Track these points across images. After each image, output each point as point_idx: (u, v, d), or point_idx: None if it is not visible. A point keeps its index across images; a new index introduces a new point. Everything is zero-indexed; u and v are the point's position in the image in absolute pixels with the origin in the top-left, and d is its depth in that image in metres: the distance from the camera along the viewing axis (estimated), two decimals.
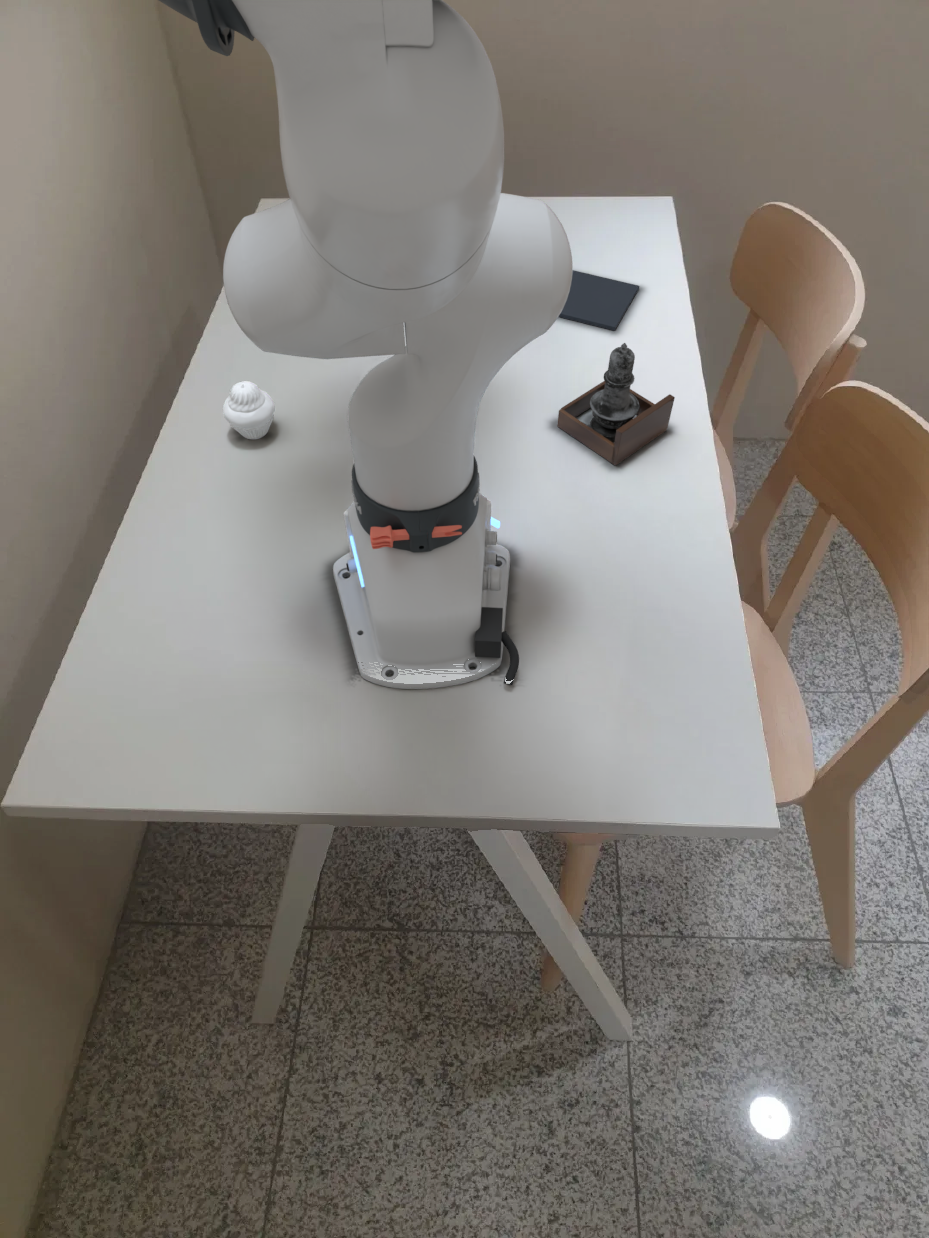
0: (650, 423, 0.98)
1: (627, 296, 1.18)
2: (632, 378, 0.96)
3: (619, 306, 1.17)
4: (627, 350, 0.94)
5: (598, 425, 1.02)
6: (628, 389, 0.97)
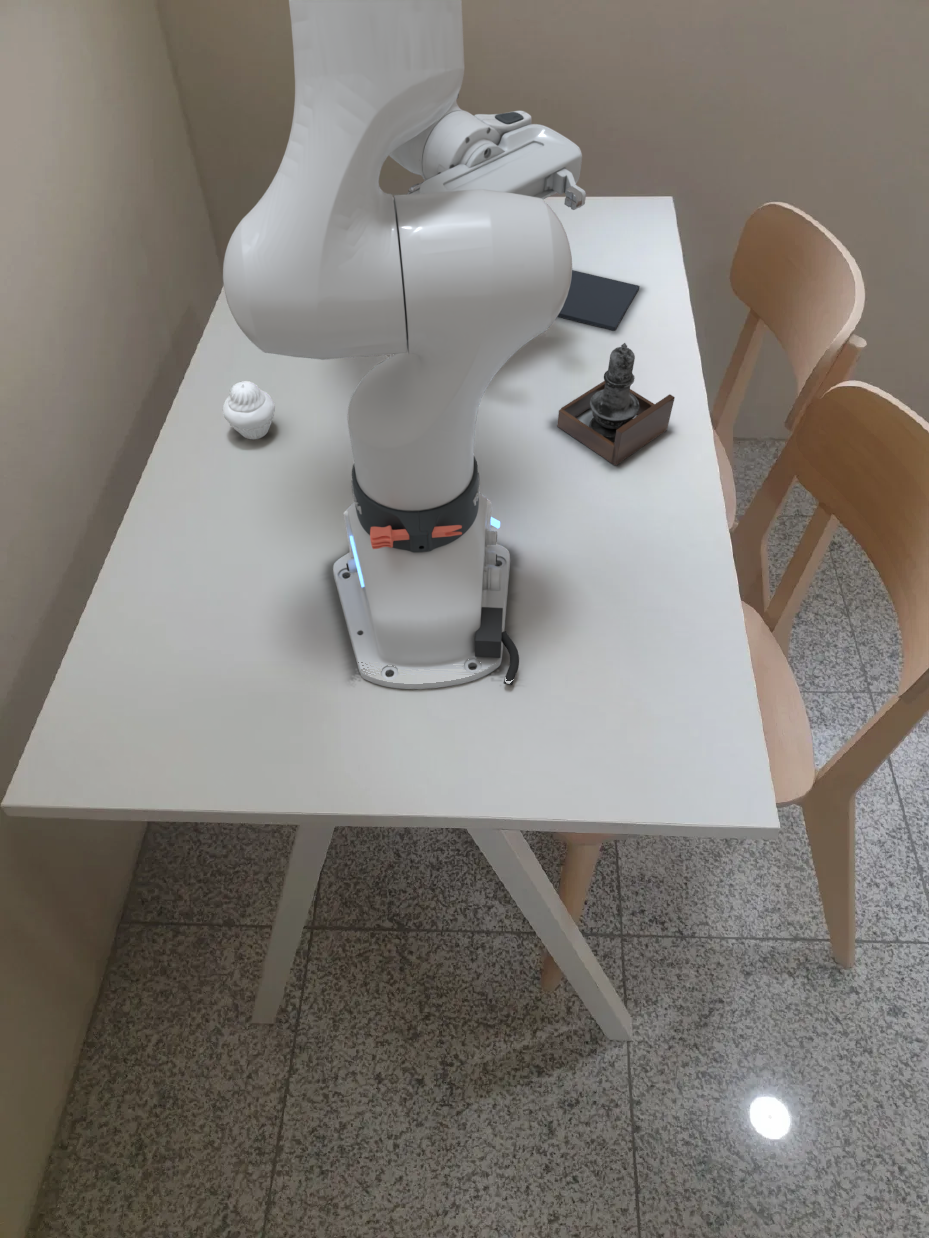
0: (650, 423, 0.98)
1: (627, 296, 1.18)
2: (632, 378, 0.96)
3: (619, 306, 1.17)
4: (627, 350, 0.94)
5: (598, 425, 1.02)
6: (628, 389, 0.97)
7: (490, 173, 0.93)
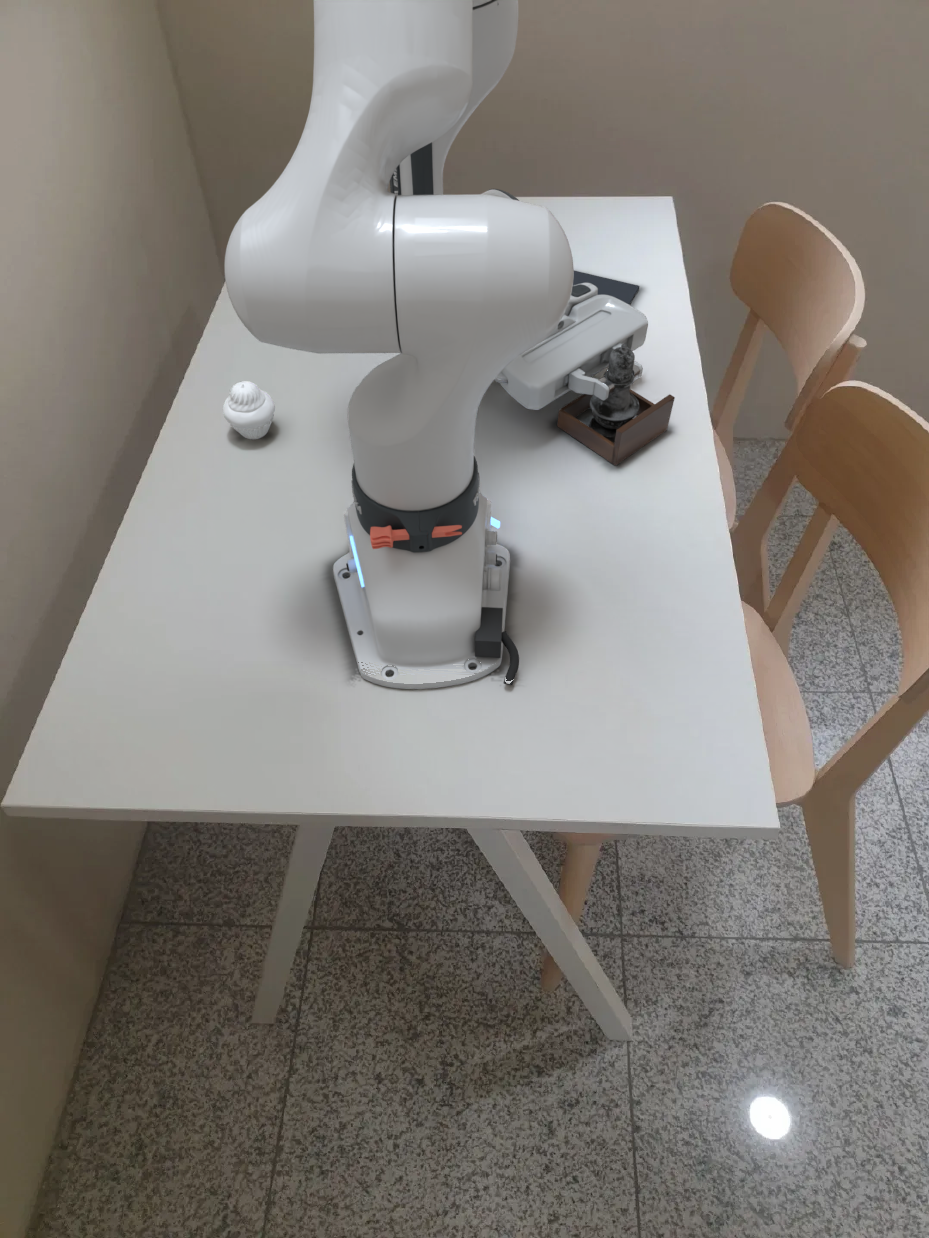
0: (650, 423, 0.98)
1: (627, 296, 1.18)
2: (632, 378, 0.96)
3: None
4: (627, 350, 0.94)
5: (598, 425, 1.02)
6: (628, 389, 0.97)
7: (565, 344, 0.98)
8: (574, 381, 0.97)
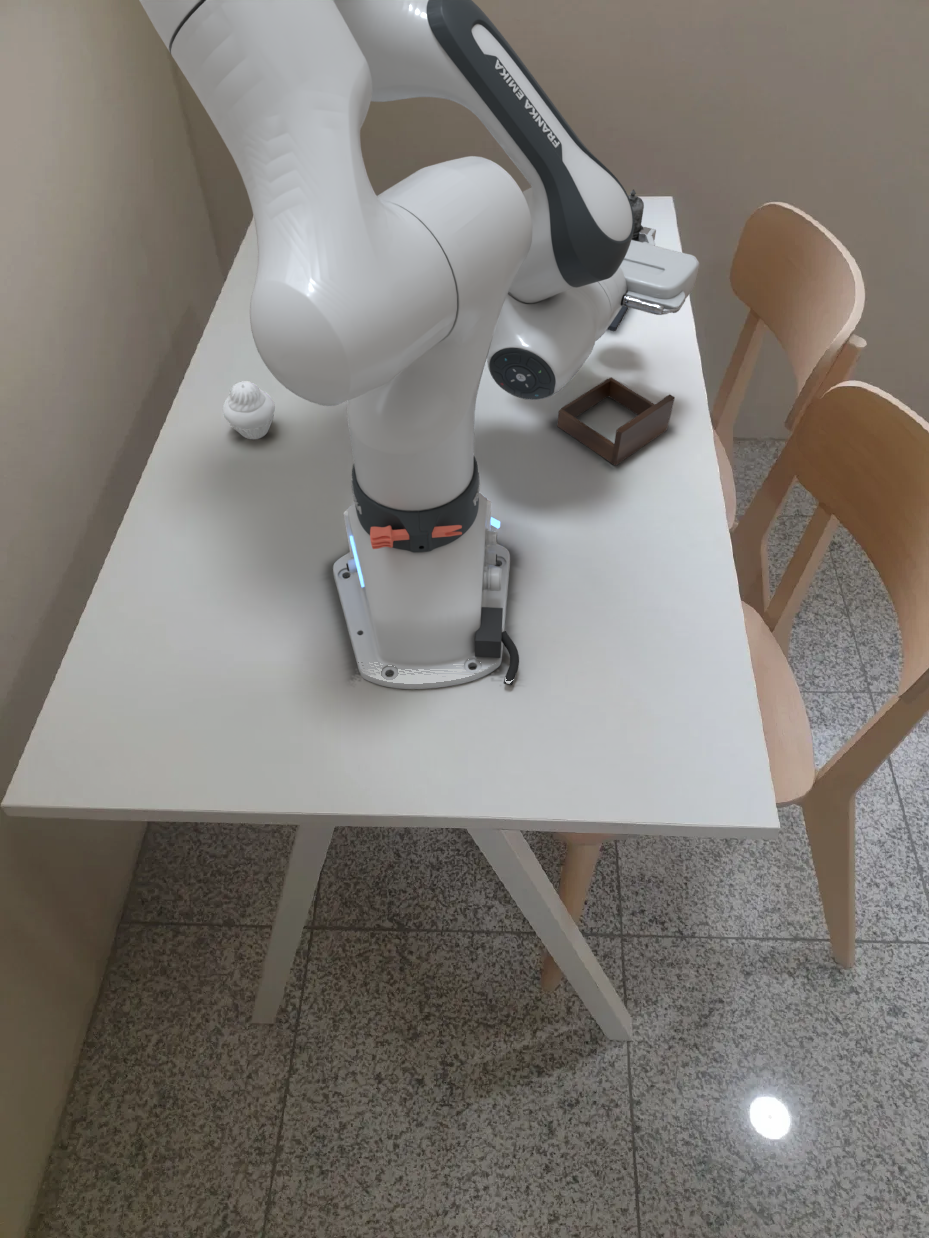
0: (650, 423, 0.98)
1: None
2: None
3: None
4: (632, 195, 0.94)
5: None
6: None
7: None
8: None
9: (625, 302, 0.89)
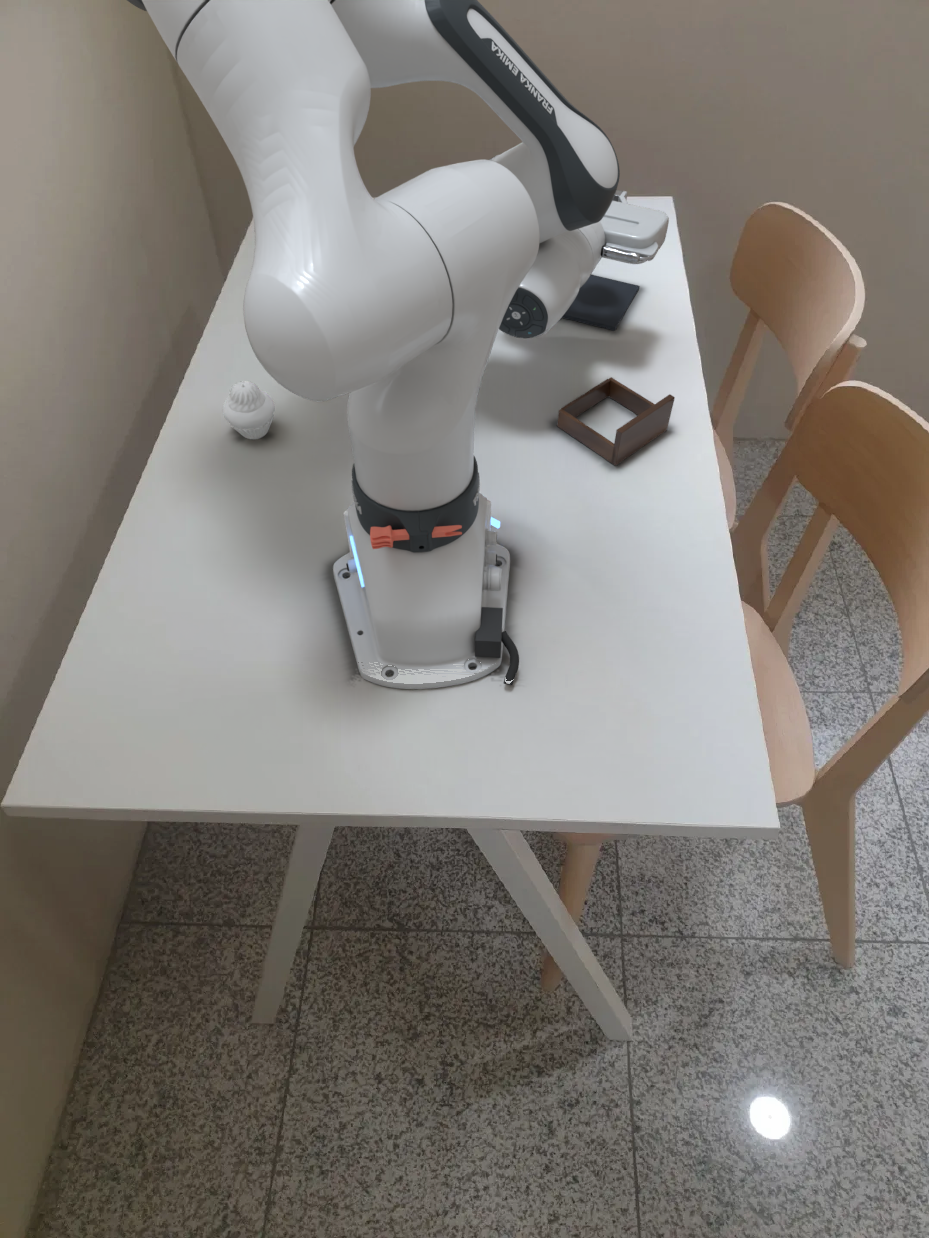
0: (650, 423, 0.98)
1: (627, 296, 1.18)
2: None
3: (619, 306, 1.17)
4: None
5: None
6: None
7: None
8: None
9: (604, 252, 0.99)
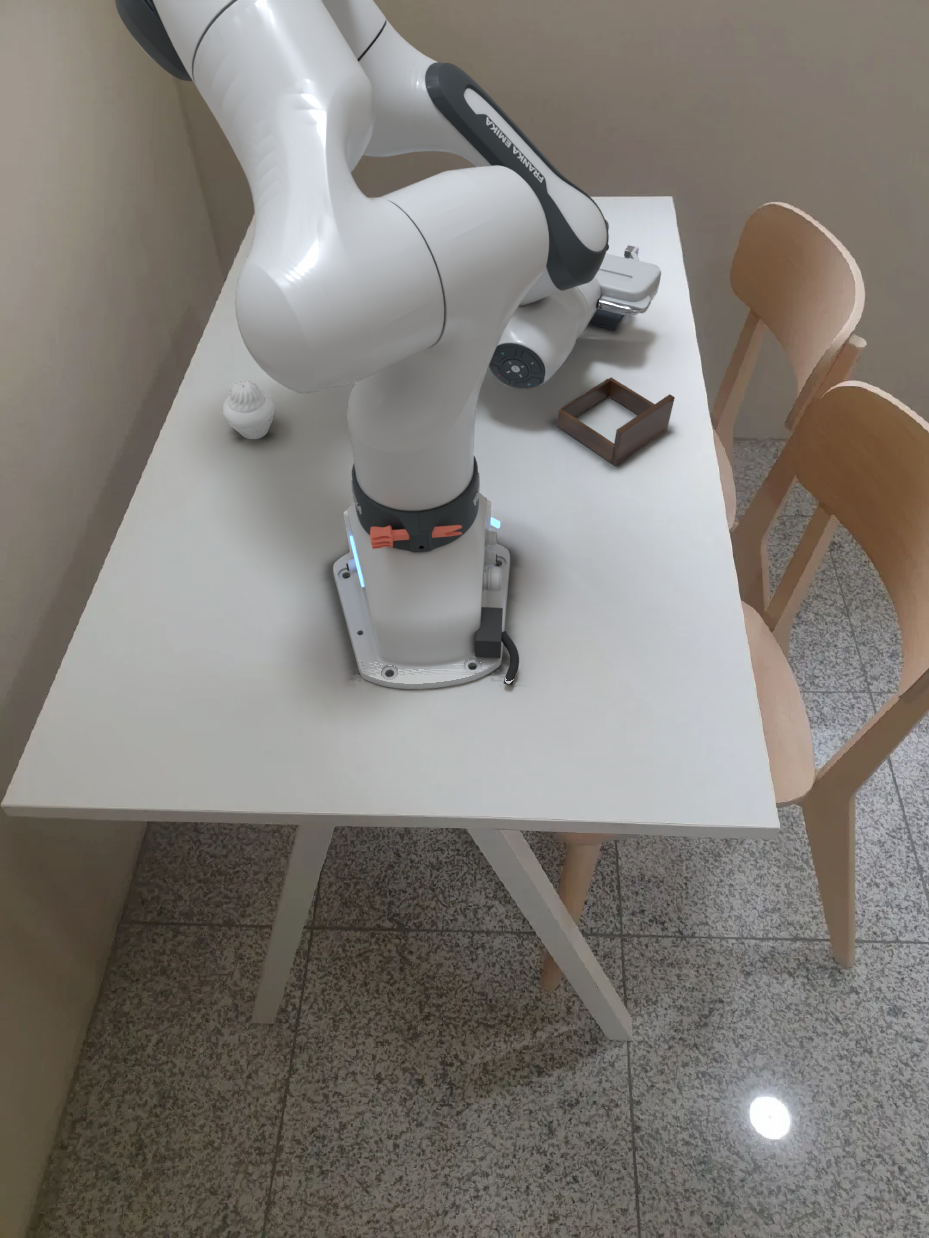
0: (650, 423, 0.98)
1: None
2: None
3: None
4: None
5: None
6: None
7: None
8: None
9: (600, 305, 1.04)
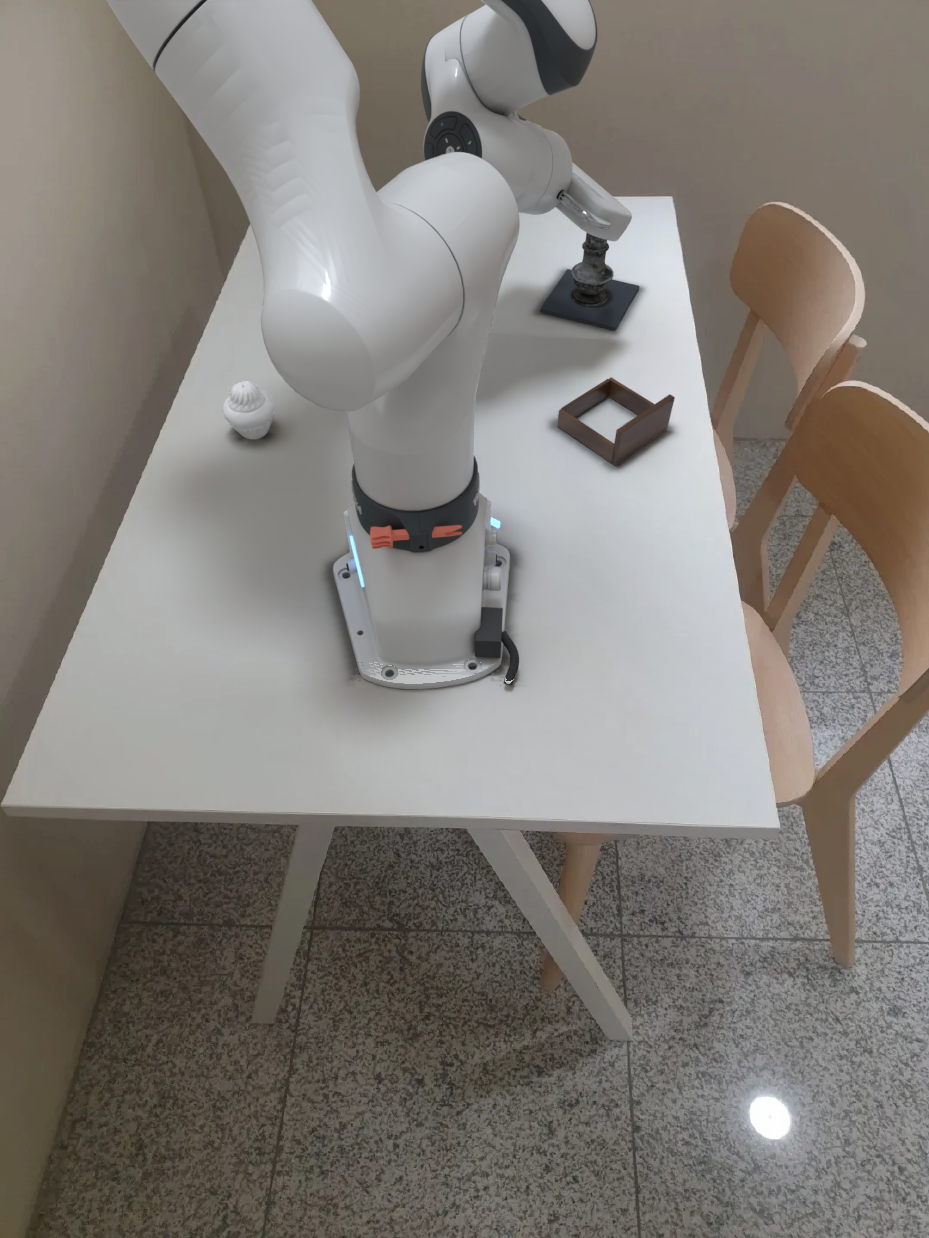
0: (650, 423, 0.98)
1: (627, 296, 1.18)
2: None
3: (619, 306, 1.17)
4: None
5: (596, 298, 1.17)
6: None
7: (573, 170, 0.98)
8: None
9: (561, 195, 0.94)
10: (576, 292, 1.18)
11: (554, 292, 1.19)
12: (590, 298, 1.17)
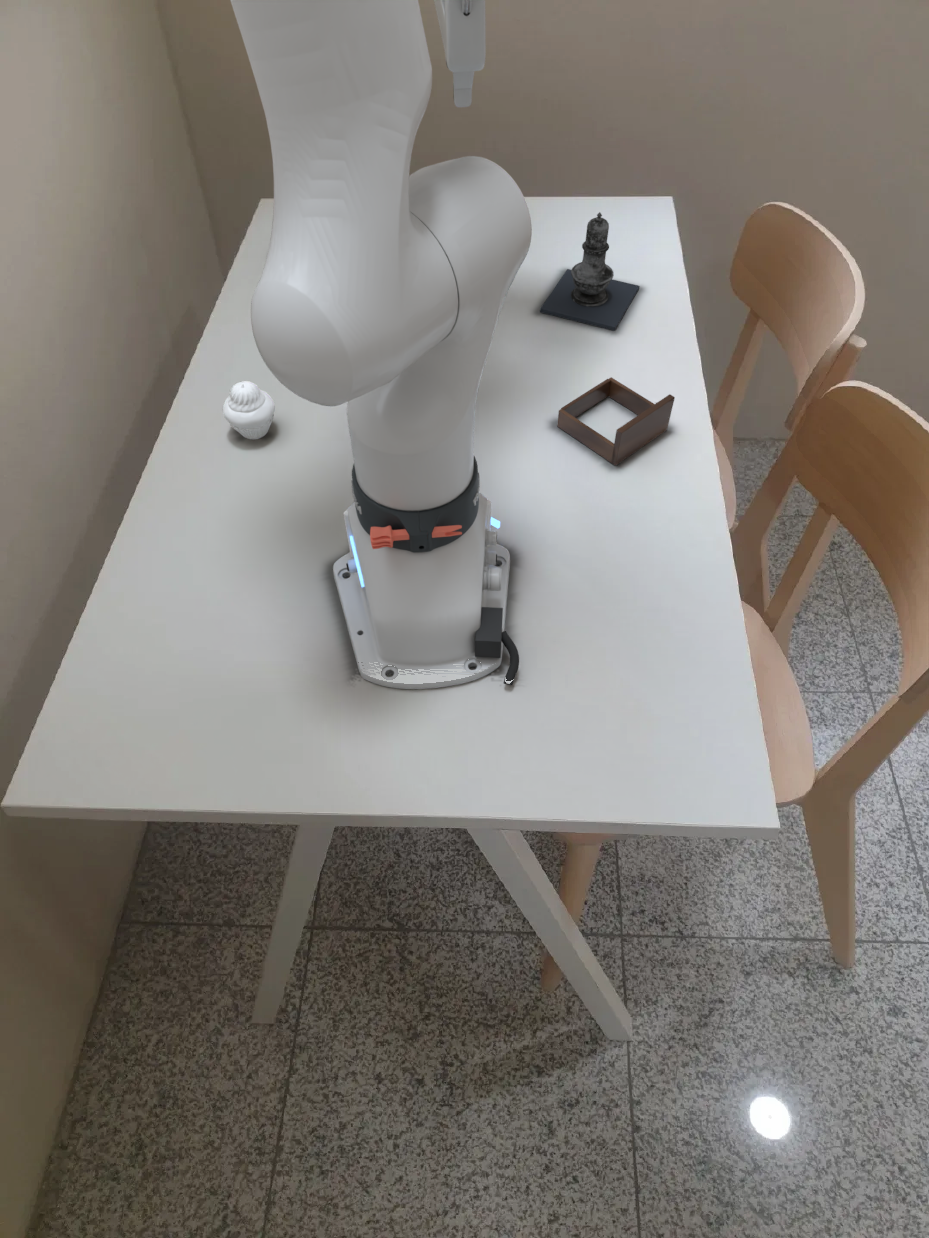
0: (650, 423, 0.98)
1: (627, 296, 1.18)
2: None
3: (619, 306, 1.17)
4: (598, 217, 1.10)
5: (596, 298, 1.17)
6: None
7: None
8: None
9: None
10: (576, 292, 1.18)
11: (554, 292, 1.19)
12: (590, 298, 1.17)
